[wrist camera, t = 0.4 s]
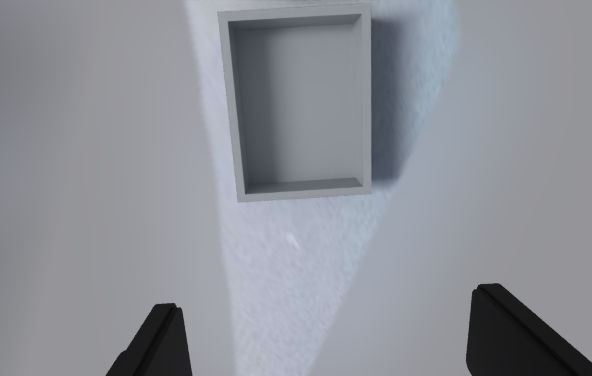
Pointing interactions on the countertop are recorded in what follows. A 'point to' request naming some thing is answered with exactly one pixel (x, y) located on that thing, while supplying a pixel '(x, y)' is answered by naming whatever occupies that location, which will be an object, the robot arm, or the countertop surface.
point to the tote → (299, 100)
